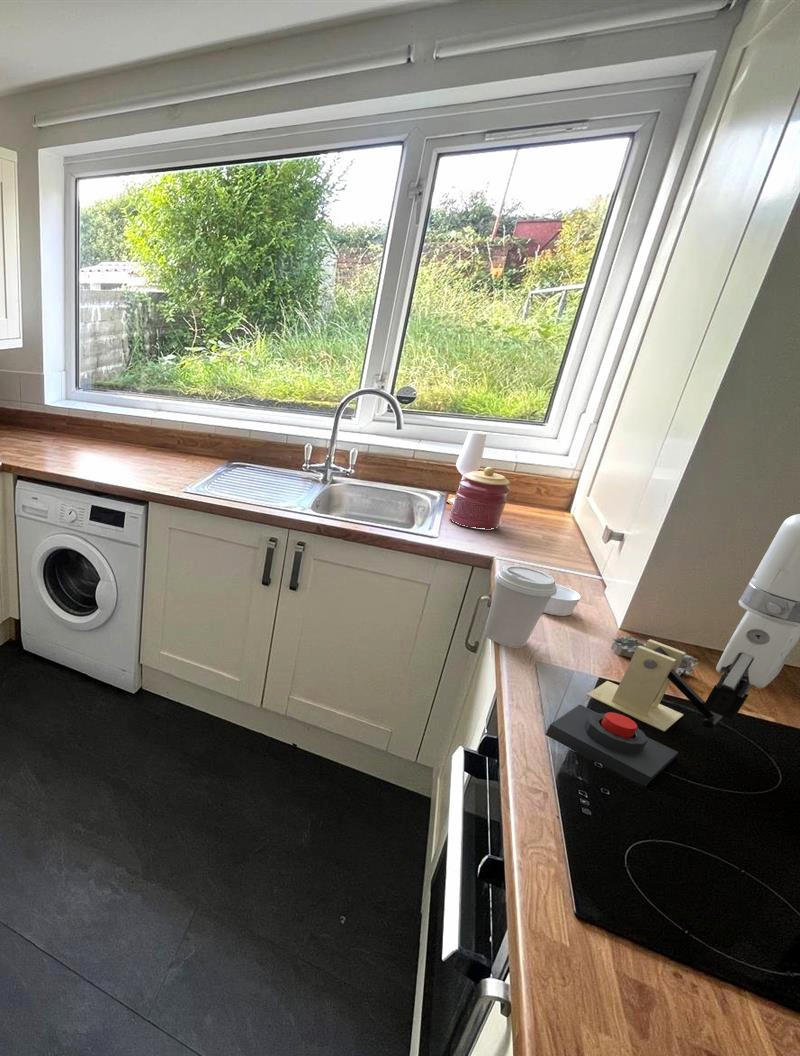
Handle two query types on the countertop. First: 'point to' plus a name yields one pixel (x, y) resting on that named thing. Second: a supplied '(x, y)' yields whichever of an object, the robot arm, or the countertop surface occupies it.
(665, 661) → the beige lever stand
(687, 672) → the egg carton
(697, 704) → the lever
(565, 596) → the ramekin
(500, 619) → the coffee cup
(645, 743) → the button block
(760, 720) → the countertop surface
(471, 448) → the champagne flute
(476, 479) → the kitchen canister
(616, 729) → the button
